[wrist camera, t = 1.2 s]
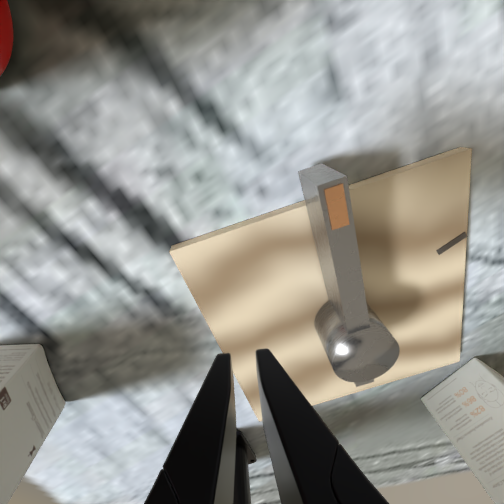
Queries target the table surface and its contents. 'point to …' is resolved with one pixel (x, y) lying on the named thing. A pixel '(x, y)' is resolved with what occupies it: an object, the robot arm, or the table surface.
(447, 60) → the table surface
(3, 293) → the table surface
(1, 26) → the soda can
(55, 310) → the table surface
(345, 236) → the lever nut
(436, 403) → the small box
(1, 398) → the skincare box
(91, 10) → the table surface
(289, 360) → the base plate
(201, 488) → the robot arm
